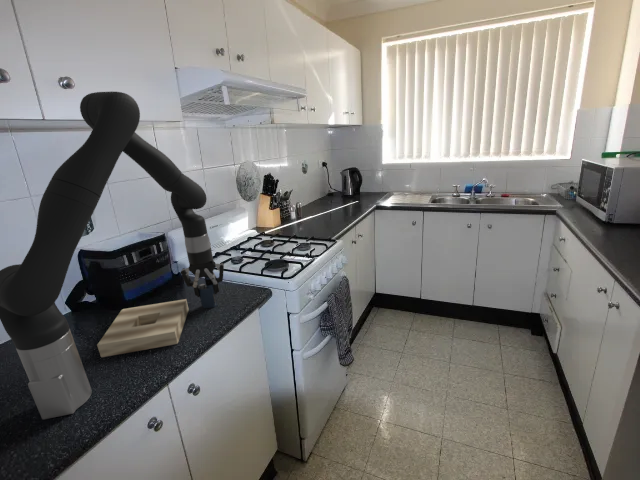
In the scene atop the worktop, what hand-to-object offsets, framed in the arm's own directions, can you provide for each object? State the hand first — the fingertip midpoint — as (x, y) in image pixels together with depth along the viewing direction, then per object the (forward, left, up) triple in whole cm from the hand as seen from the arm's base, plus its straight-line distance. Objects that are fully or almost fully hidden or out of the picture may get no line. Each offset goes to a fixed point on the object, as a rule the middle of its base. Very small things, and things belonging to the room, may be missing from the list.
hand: (207, 294), depth 114 cm
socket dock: (-10, +17, -4) cm, 20 cm away
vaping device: (0, 0, -5) cm, 5 cm away
